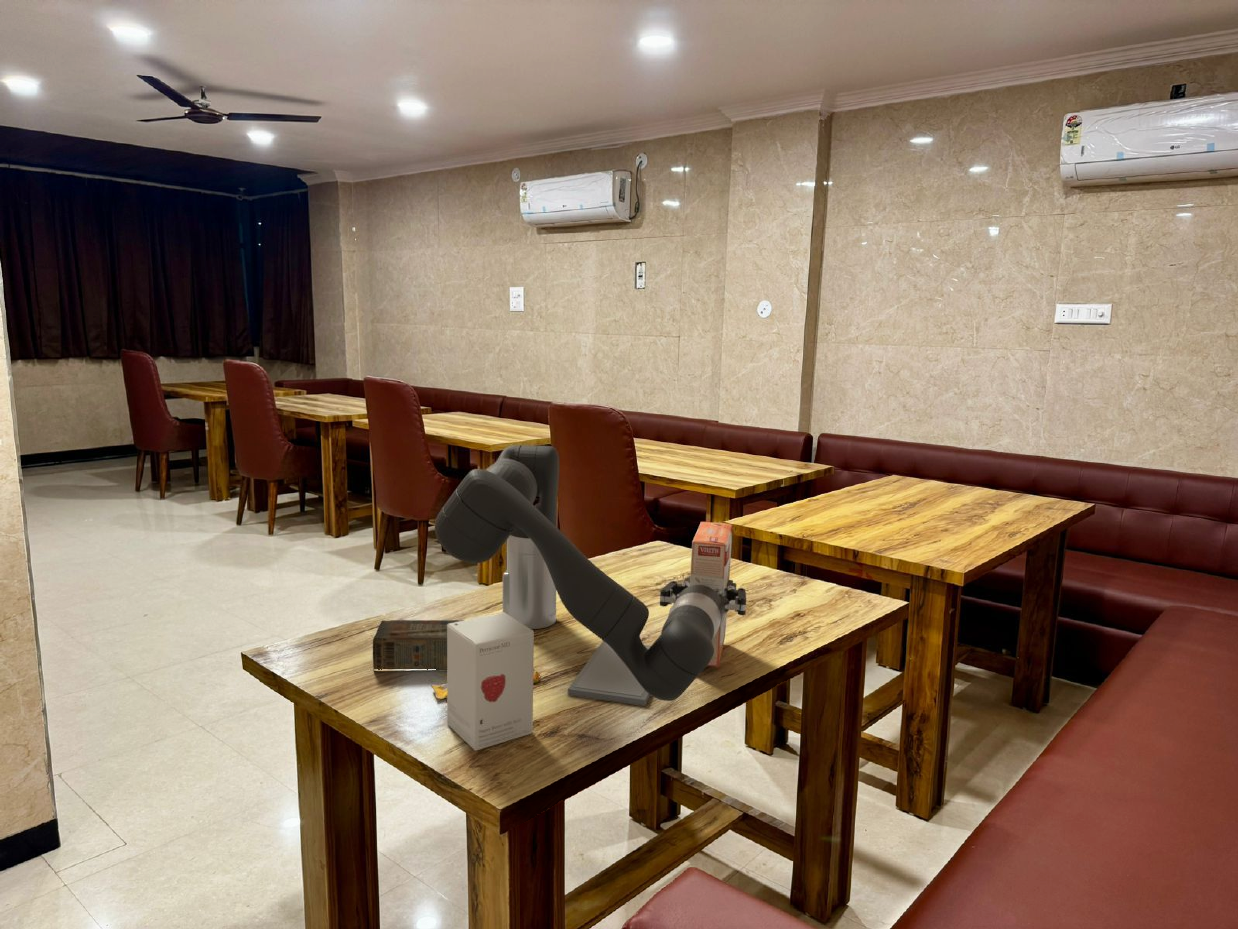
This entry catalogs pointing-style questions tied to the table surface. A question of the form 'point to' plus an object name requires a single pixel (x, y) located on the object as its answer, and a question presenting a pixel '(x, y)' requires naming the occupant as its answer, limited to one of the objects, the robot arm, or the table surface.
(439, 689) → the candy bar
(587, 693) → the slate board
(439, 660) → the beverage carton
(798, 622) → the table surface
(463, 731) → the supplement box
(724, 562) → the cracker box
